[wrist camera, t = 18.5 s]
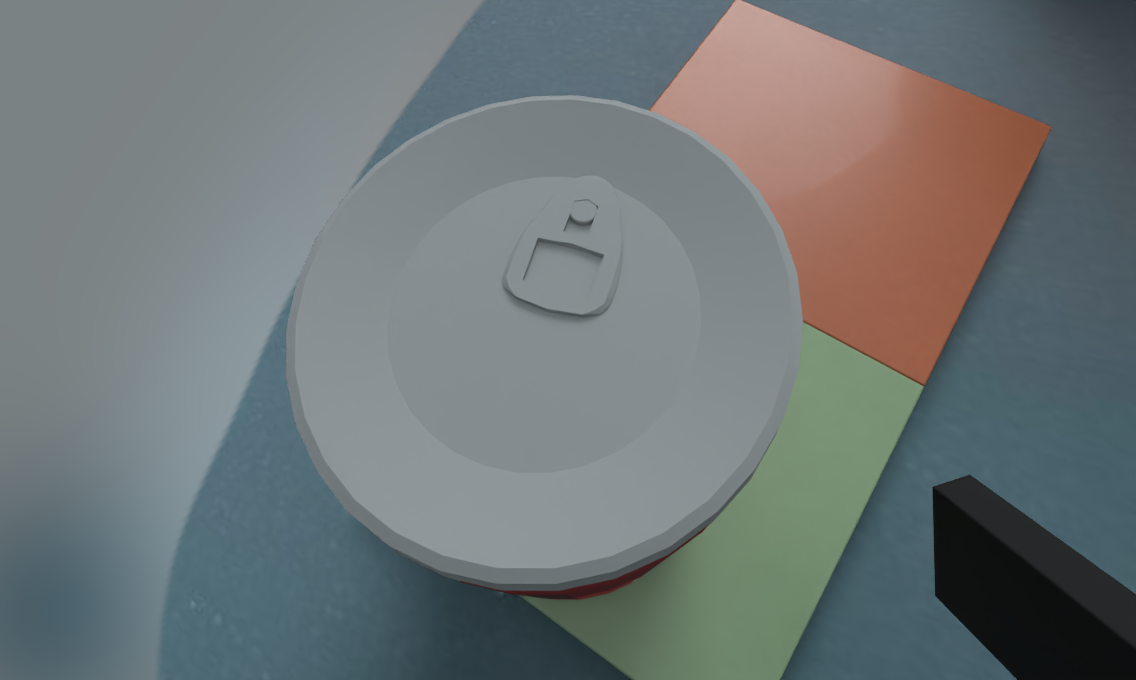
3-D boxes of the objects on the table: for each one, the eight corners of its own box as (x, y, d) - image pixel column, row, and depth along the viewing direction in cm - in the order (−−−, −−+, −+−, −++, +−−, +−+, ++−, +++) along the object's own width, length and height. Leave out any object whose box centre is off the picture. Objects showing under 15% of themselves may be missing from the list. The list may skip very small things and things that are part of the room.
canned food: (694, 342, 21) (784, 86, 11) (704, 608, 18) (843, 606, 8) (461, 337, 21) (334, 88, 11) (431, 595, 18) (216, 578, 8)
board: (733, 752, 17) (741, 761, 16) (371, 483, 20) (360, 478, 20) (1036, 144, 24) (1053, 126, 23) (731, 17, 28) (736, -3, 27)
